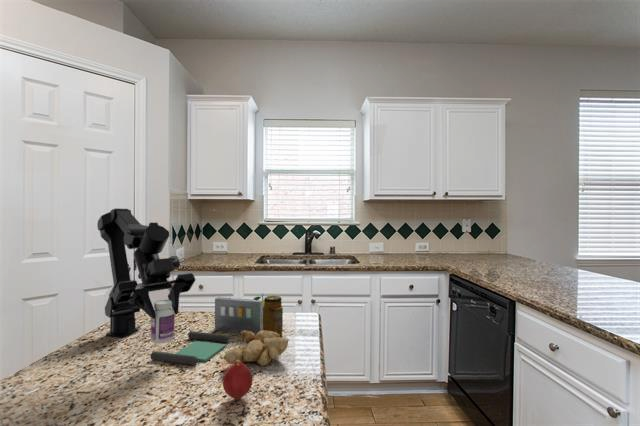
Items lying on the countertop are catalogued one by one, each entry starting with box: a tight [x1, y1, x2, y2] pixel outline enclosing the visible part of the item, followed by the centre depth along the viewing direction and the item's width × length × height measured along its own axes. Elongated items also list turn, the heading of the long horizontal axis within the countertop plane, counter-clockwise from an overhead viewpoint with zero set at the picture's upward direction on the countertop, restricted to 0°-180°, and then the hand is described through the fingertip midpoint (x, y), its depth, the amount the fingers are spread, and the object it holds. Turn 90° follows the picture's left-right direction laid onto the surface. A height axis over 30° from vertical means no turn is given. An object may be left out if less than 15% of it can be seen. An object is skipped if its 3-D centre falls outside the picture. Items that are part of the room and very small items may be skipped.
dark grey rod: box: [187, 330, 230, 343], centre depth 96 cm, size 13×2×2 cm, turn 76°
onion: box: [222, 360, 254, 401], centre depth 65 cm, size 6×6×8 cm
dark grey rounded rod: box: [149, 350, 199, 366], centre depth 82 cm, size 13×2×2 cm, turn 76°
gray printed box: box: [214, 296, 264, 335], centre depth 104 cm, size 16×3×10 cm, turn 76°
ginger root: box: [222, 330, 289, 367], centre depth 84 cm, size 16×16×8 cm
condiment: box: [263, 295, 290, 341], centre depth 99 cm, size 7×8×12 cm
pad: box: [174, 340, 227, 363], centre depth 88 cm, size 10×10×1 cm
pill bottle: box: [150, 299, 176, 344], centre depth 81 cm, size 5×5×10 cm
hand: (166, 315), depth 80 cm, fingers closed on pill bottle, 5 cm apart
